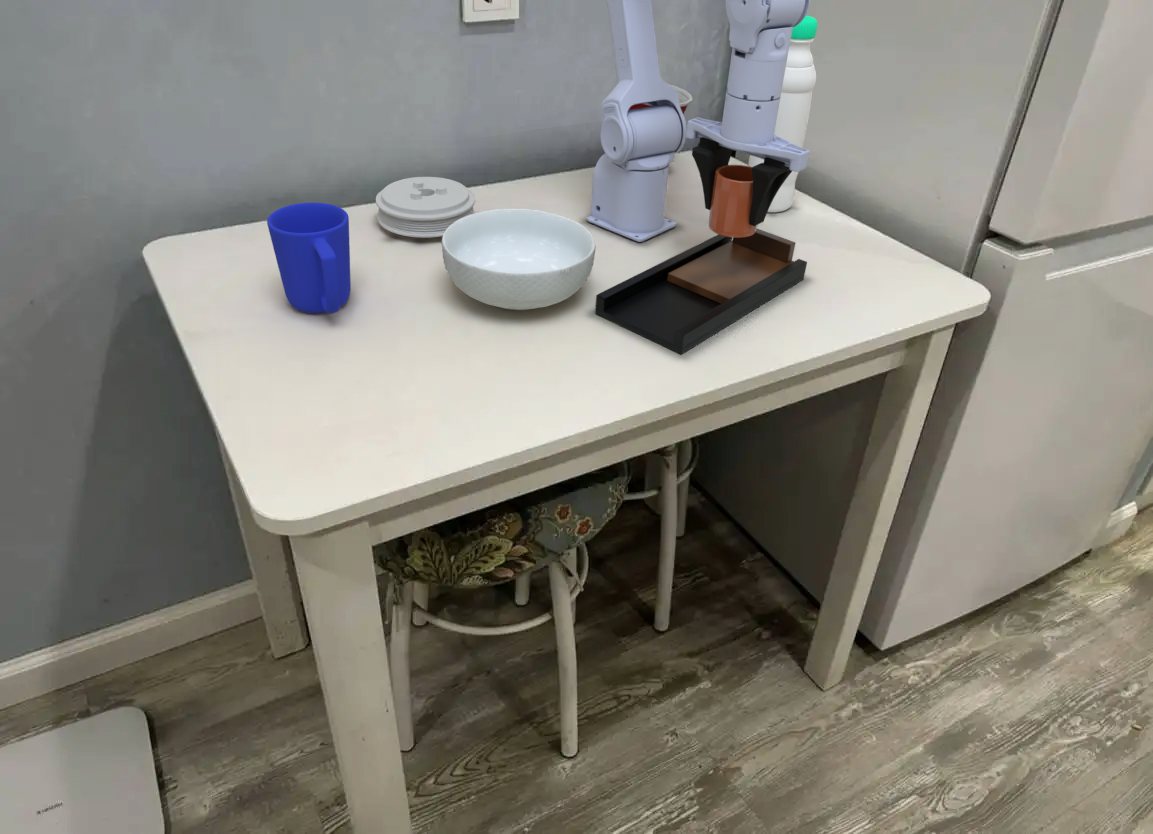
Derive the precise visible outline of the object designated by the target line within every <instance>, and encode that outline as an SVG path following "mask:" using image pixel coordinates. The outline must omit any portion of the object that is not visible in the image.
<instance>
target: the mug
mask: <svg viewBox="0 0 1153 834" xmlns="http://www.w3.org/2000/svg"><path fill="white" fill-rule="evenodd" d="M349 217H350V216H349V214H348V212H347V211H346V210H345V209H343V208H341V207H340V206H337V205H335V204H331V203H326V202H325V203H324V202H302V203H301V202H300V203H295V204H289V205H286V206H282V207H280V208H279V209H276V210H274V211H273V212H272V213H270V214H269V216H268V218H267V221H266V224H267V229H268V232H269V236H270V240H271V244H272V248H273V251H274V256H275V259H276V262H277V267H278V271H279V275H280V279H281V283H282V287H283V291H284V295H285V298H286V300H287V302H288V303H289V304H290V305H291V307H292V308H294V309H295V310H298V311H299V312H302V313H306V314H324V313H325V314H334V313H337V312H338V311H339V310H340V308H341V307H343V306H344V305H345V304H346V303H347V302H348V301H349V299H350V295H351V290H352V289H351V288H352V287H351V286H352V285H351V282H352V281H351V251H350V247H351V246H350V218H349Z"/></svg>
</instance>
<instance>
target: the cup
mask: <svg viewBox="0 0 1153 834" xmlns="http://www.w3.org/2000/svg"><path fill="white" fill-rule="evenodd" d="M752 198H753V177H752V167H751V166H748V165H745V164H728V165H724V166H721V167H719V168H717V170H716V172H715V179H714V186H713V193H712V201H711V208H710V210H709V215H708V216H709V217H708V228H709V230H710V231H711V232H712V233H715V234H716V235H718V234H719V235H722V236H726V237H732V238H733V237H734V238H742V237H748V236H751V235H753V234H754V233H755V232H756V229H758V225H756V226H753V225H750V224H749V216H750V210H751V204H752Z"/></svg>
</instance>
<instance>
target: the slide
mask: <svg viewBox="0 0 1153 834" xmlns="http://www.w3.org/2000/svg"><path fill="white" fill-rule="evenodd" d="M795 248H796V241H793V240H790V239H787V238H784V237H782V236H780V235H777V234H773V233H771V232H769V231H766V230H762V229H760V228H757V229H756V232H755V233H754V234H753V235H751V236H748V237H742V238H734V237H732V241H730V242H728V243H726V244H724V245H722V246H720V247H718V248H716V249H714V250H712V251H710V252H708V253H707V254H705V255H703V256H701V257H699V258H697V259H695V260H693V261H691V262H689V263H687V264H685V265H683V266H681V267H679V268H677V269H675V270H673V271H671V272H669V273H668V278H667V281H669V282H671V283H674V284H676V285H678V286H681V287H683V288H686V289H688V290H690V291H693V292H695V293H697V294H700V295H702V296H704V297H707V298H709V299H711V300H714V301H716V302H718V303H721V304H722V303H724V302H726V301H727V300H729V299H731V298H732V297H734V296H736V295H738V294H739V293H741V292H743V291H744V290H746V289H748V288H750V287H751V286H753V285H755V284H756V283H758V282H760V281H762V280H763V279H765V278H767V277H768V276H770V275H772V274H774V273H775V272H777V271H779V270H780V269H782V268H784V267H786V266H787V265H789V264H791V263H792V262H794V261H795V260H793V257H794V252H795Z"/></svg>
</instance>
